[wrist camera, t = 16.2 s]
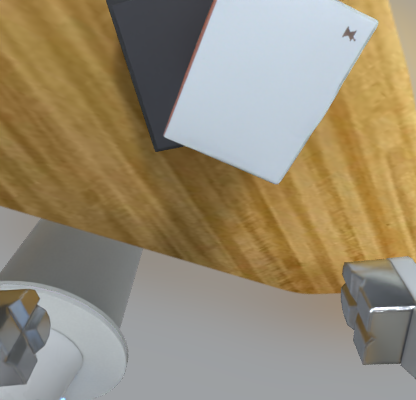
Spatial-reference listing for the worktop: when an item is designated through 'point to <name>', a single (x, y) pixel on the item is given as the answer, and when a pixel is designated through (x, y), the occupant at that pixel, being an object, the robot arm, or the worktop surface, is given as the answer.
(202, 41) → the small box
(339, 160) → the worktop surface
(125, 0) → the dark gray box
